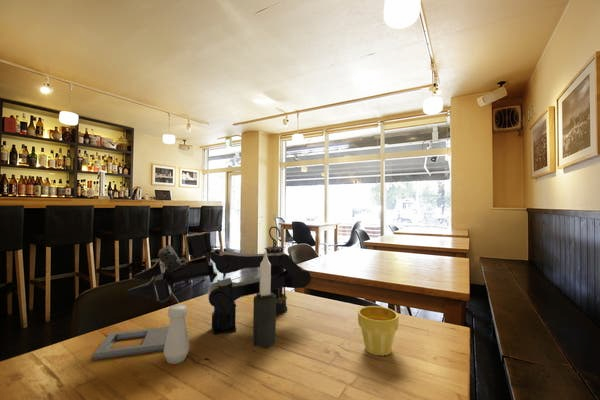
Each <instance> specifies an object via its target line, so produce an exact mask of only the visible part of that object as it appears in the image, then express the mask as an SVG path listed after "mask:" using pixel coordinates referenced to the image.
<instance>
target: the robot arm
mask: <svg viewBox="0 0 600 400" xmlns="http://www.w3.org/2000/svg"><path fill="white" fill-rule="evenodd" d="M210 235H211V234H210V232H209V231H207V232H195V233H190V234H186V235H185V236H184V237H185V243H186V244H185V245H186V248H187V254H188V256H191V257H192V258H193V259H190V260H187V259H186V258H180V257H179V256H178V254H177V253H176V251H175V249H174V248H173V246H172V245H171V244H168V245H166V246H164V247H163V248H160V249H158V253H157V256H158V257H159V258H158V259H157V260H156V262H155V264H154V265H152V266H151V267H149V268H146V269H144V270H142V271H141V272H138V273H136V274H134V276H133V278H134V280H140V281H141V280H143V281H144V280H149V281H148V282H146V283H143V284H140V285H137V286H134V287H132V288H129V289H127V291H126V292H127V294H128V295H131V296H136V297H142V298H147V299H152V300H155V301H156V302H157V301H158V302H159V303H164V302H167V301H168V300H169V299H170V298H171V295H172V289H174V288H175V285H178V284H182V283H185V285H189V284H190V281H193V280H197V279H201V278H205V277H208V278H209V282H210V283H212V284H211V285H210V286H209V288H208V289H207V296H208V298H207V299H208V303H209V304H210V305H211V306H212V307H213V312H211V330H213V334H214V335H216V334H217V335H218V334H225V333H232V332H237V326H236V319H237V318H236V313H237V312H236V311H237V310H236V309H237V308H236V307H237V304H236V302H235V301H237V300H238V299H240V298H242V297H247V296H251V295H252V296H253V295H255V294H256V295H257V293H258V292H260V277H259V278H254V279H249V280H244V281H240V282H235V281H232V278H231V277H228V278H225V279H217V280H216V282H214V281H215V279H216V277H218V273H220V274H224V275H225V274H226V275H227V274H230V273H235V272H238V271H240V270H243V269H249V268H250V269H251V268H253V269H254V268H260V264H261V262H262V261H263V257H264V253H253V254H251V253H249V254H248V253H247V254H245V253H244V254H243V253H239V252H235V251H227V250H223V251H219V250H217V249H215V248H212V246H211V245H212V244H211V236H210ZM208 254H209V257H210V260H211V261H209V257H208ZM267 257H268V260H269V262H270V264H271V267H272V266H282V267H283V268H284V272H282V273H280V274H277V275H272V276H271V286H270V290H274V289H278V288H282V289H284V287H285V288H290V289H305V288H307V287H308V286H309V284H310V283H311V280H312V275H311V274H310V272H309V271H307V270H306V268H305V269H304V268H303V267H302V266H300V265H298V264H297V263H296V262H295V261H294V260H292V258H291V256H290V255H288V254H287V253H286V252H285V253H284V251H283V252H280V253H270V254H267ZM213 263H214V264H213ZM214 266H215V268H216V270H217V272H218V273H217V272H215V270H214Z"/></svg>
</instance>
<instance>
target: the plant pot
mask: <svg viewBox="0 0 600 400" xmlns="http://www.w3.org/2000/svg"><path fill="white" fill-rule="evenodd" d="M357 319H358V320H357V324H358V326H359V327H360V329H361V333H362V338H363V343H364V349H365V350H366V352H368V353H369V354H371V355H373V354H374V356H377V355H381V356H380V357H385V356H384V355H386V356H388V354H389V355H390V354H391V352H392V350H393V344H394V339H395V335H396V332H397V331H398V330H399V321H400V320H399V315H398V313H397V312H396V311H395V310H393V309H391V308H389V307H386V306H379V305H378V306H377V305H371V306H370V305H368V306H363V307H360V308H359V309H358V311H357ZM382 355H383V356H382Z"/></svg>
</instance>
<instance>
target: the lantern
mask: <svg viewBox="0 0 600 400" xmlns="http://www.w3.org/2000/svg"><path fill="white" fill-rule="evenodd" d="M272 229H276V230H277V231H278V237H281V230H280V229H279V228H278V226H271V227H269V230H268V235H269V238H271V240H272V243H273V244H272V246H268V247H264V250H265V252H267V254H270V253H280V252H283V253H284V251H283V250H284V248H285V247H284V246H279V245H278V246H277V244H278V243H277V240H276V239H275V238H274V237H272V234H271V230H272ZM284 271H285V269H284V268H283V267H282V266H272V267H271V276H272V275H277V274H280V273H282V272H284ZM270 292H272V293H273V294H274V295H276V316H279V315H283V313H284V314H285V313H287V312H288V306H287V299H288V297H287V295H286V287H283V288H278V289H274V290H270ZM286 311H287V312H286Z"/></svg>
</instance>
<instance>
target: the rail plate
mask: <svg viewBox="0 0 600 400" xmlns="http://www.w3.org/2000/svg"><path fill="white" fill-rule="evenodd" d="M168 329H169V325H168V326H161V327H154V328H153V327H152V328H144V329H136V330H135V329H134V330H128V331H127V330H126V331H118V332H117V331H116V332H109V333H108V334H107V336H106V337H105V338H104V340H103V341H102V342H101V343H100V345H99V346H98V348H97V349H96V350H95V351H94V353H93V360H94V361H95V360H96V361H97V360H102V359H108V358H117V357H118V358H119V357H123V356H124V357H125V356H131V355H138V354H140V355H141V354H147V353H153V352H160V351H164V347H165V343H166V338H167V334H168ZM135 338H136V339H137V338H144V339H143V341H142V344H138V345H137V344H135V345H127V346H121V347H114V348H113V347H112V346H113V345H114V343H115V342H116V341H118V340H127V339H135Z"/></svg>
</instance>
